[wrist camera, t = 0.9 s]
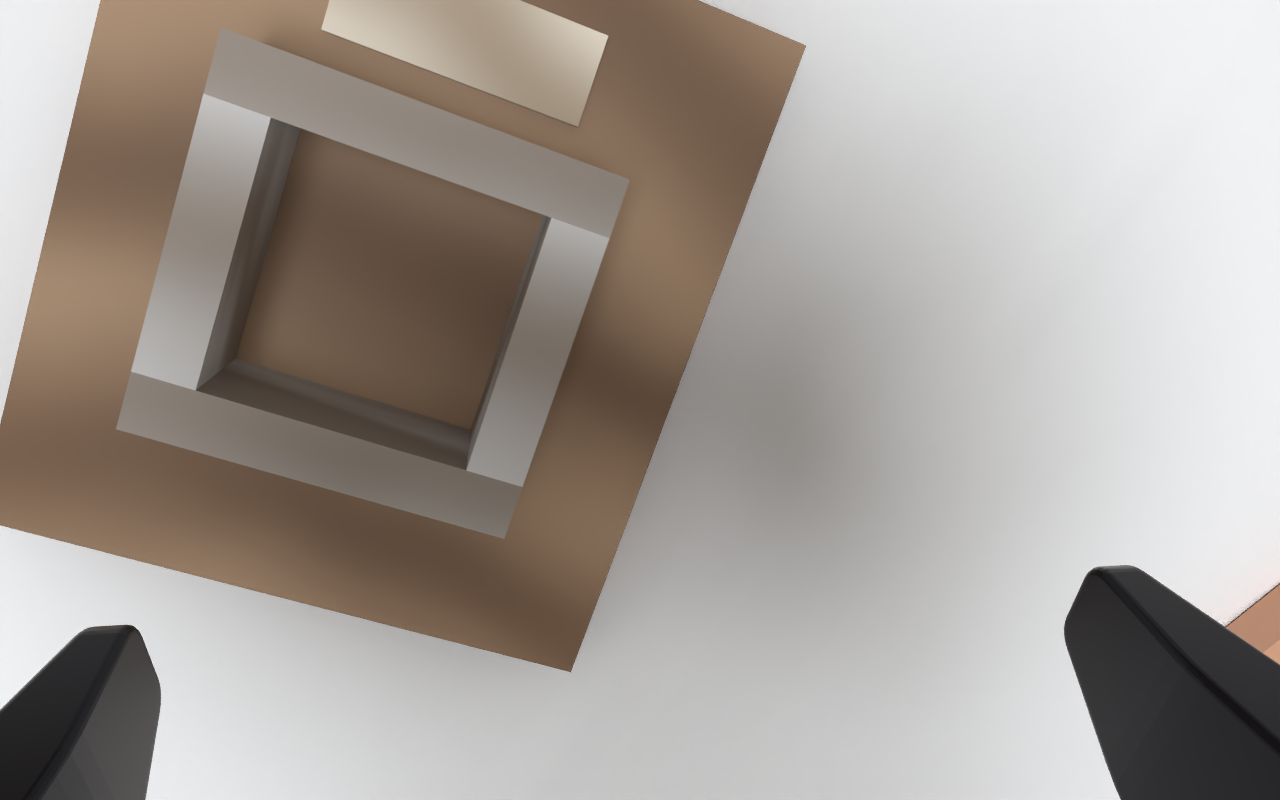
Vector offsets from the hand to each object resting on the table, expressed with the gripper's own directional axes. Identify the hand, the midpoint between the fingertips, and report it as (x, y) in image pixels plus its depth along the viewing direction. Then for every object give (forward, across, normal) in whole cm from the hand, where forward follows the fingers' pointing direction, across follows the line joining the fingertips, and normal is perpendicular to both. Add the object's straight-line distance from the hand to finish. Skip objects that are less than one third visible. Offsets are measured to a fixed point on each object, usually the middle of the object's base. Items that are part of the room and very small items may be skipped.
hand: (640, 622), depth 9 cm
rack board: (+15, +4, +5) cm, 16 cm away
